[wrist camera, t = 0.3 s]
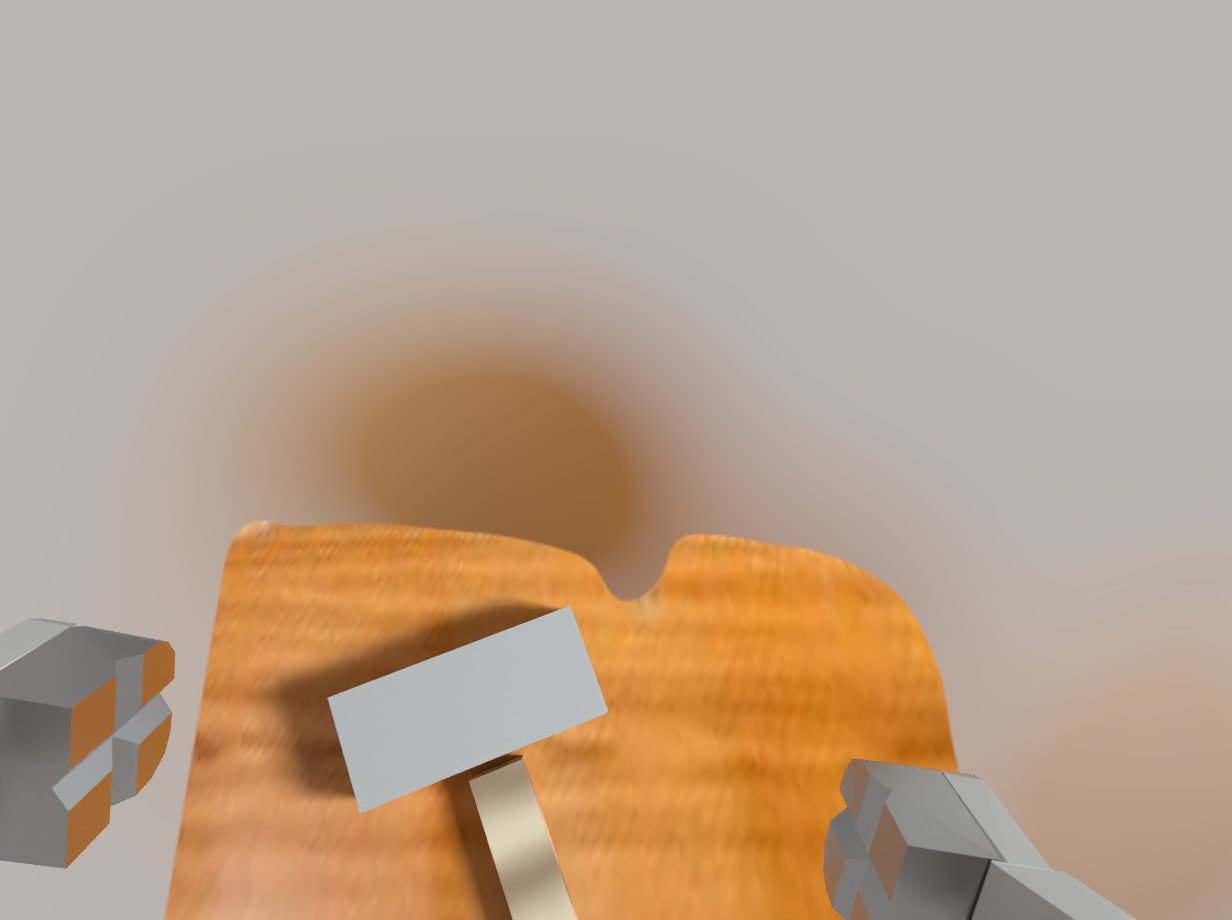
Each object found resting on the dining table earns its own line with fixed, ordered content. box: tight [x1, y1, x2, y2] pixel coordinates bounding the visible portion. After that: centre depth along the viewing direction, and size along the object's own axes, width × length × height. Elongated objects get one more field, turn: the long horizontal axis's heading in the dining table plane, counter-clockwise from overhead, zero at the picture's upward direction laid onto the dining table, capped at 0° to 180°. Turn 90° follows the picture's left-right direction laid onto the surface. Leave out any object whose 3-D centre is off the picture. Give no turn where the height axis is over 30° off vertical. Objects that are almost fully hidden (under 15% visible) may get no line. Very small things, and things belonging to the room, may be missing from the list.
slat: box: [469, 756, 578, 920], centre depth 55 cm, size 16×4×3 cm, turn 21°
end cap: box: [328, 606, 608, 813], centre depth 57 cm, size 8×18×5 cm, turn 111°
